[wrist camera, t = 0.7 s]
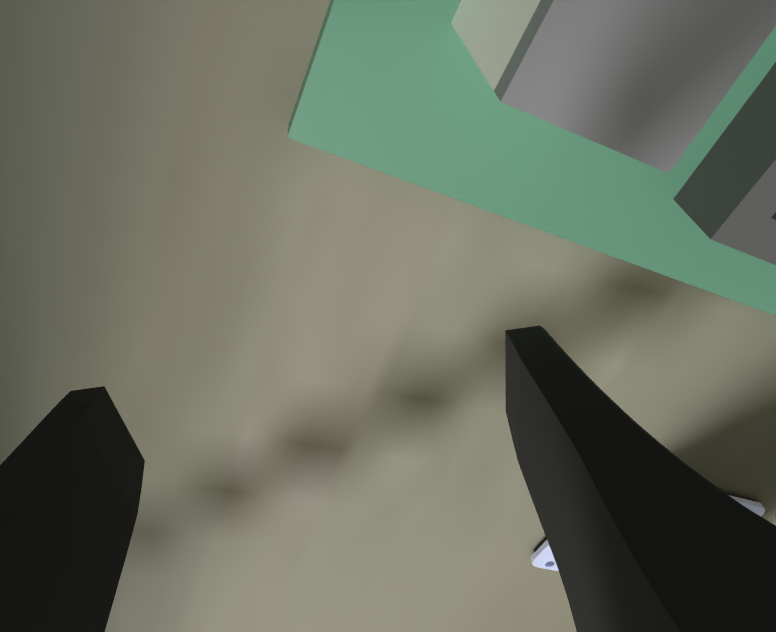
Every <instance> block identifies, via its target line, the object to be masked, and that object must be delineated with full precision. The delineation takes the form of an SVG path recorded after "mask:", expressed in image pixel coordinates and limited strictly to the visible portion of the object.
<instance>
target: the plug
mask: <svg viewBox="0 0 776 632" xmlns="http://www.w3.org/2000/svg"><path fill="white" fill-rule="evenodd" d="M451 24H452V26H453V27H454V29H455V30H456V32H457V34H458V35H459V37H460V38H461V40H462V42H463V43H464V45H465V46H466V48H467V50H468V51H469V53H470V54H471V56H472V57H473V59H474V61H475V62H476V64H477V65H478V67H479V69H480V70H481V72H482V73H483V75H484V77H485V78H486V80H487V81H488V83H489V84H490V86H491V88H492V89H493V91H494V92H495V94H496V96H497V97H498V99H499V100H500V102H502V103H504V104H507V105H509V106H511V107H514V108H516V109H518V110H521V111H523V112H525V113H528V114H530V115H532V116H535V117H537V118H540V119H542V120H544V121H547V122H549V123H551V124H554V125H556V126H558V127H561V128H563V129H565V130H568V131H570V132H572V133H575V134H577V135H579V136H582V137H584V138H587V139H589V140H591V141H594V142H596V143H598V144H601V145H603V146H605V147H608V148H610V149H612V150H615V151H617V152H619V153H622V154H624V155H626V156H629V157H631V158H634V159H636V160H638V161H641V162H643V163H645V164H648V165H650V166H652V167H655V168H657V169H659V170H662V171H664V172H666V173H670V171H671V170H672V169H673V167H674V166H675V164H676V163H677V162H678V160H679V159H680V157H681V156H682V155H683V153H684V152H685V151H686V149H687V148H688V146H689V145H690V144H691V142H692V141H693V140H694V138H695V137H696V135H697V134H698V133H699V131H700V130H701V128H702V127H703V126H704V124H705V123H706V122H707V120H708V119H709V117H710V116H711V115H712V113H713V112H714V111H715V109H716V108H717V106H718V105H719V104H720V102H721V101H722V99H723V98H724V97H725V95H726V94H727V93H728V91H729V90H730V88H731V87H732V86H733V84H734V83H735V82H736V80H737V79H738V77H739V76H740V75H741V73H742V72H743V70H744V69H745V68H746V66H747V65H748V64H749V62H750V61H751V59H752V58H753V57H754V55H755V54H756V53H757V51H758V50H759V48H760V47H761V46H762V44H763V43H764V41H765V40H766V39H767V37H768V36H769V35H770V33H771V32H772V30H773V29H774V28H775V26H776V0H461V2H460V4H459V6H458V9H457V11H456V13H455V15H454V17H453V20H452V22H451Z"/></svg>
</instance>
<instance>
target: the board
mask: <svg viewBox="0 0 776 632" xmlns="http://www.w3.org/2000/svg"><path fill="white" fill-rule="evenodd" d="M460 2H461V0H331V2H330V5H329V8H328V11H327V14H326V17H325V20H324V23H323V26H322V29H321V31H320V34H319V37H318V40H317V43H316V46H315V49H314V52H313V55H312V58H311V61H310V64H309V67H308V70H307V73H306V76H305V79H304V81H303V84H302V87H301V90H300V93H299V96H298V99H297V102H296V105H295V108H294V111H293V114H292V117H291V120H290V123H289V128H288V136H287V138H290V139H293V140H296V141H298V142H301V143H304V144H307V145H309V146H312V147H315V148H318V149H320V150H323V151H326V152H329V153H331V154H334V155H337V156H340V157H342V158H345V159H348V160H350V161H353V162H356V163H359V164H361V165H364V166H367V167H370V168H372V169H375V170H378V171H381V172H383V173H386V174H389V175H392V176H394V177H397V178H400V179H403V180H405V181H408V182H411V183H413V184H416V185H419V186H422V187H424V188H427V189H430V190H433V191H435V192H438V193H441V194H444V195H446V196H449V197H452V198H455V199H457V200H460V201H463V202H466V203H468V204H471V205H474V206H476V207H479V208H482V209H485V210H487V211H490V212H493V213H496V214H498V215H501V216H504V217H507V218H509V219H512V220H515V221H518V222H520V223H523V224H526V225H529V226H531V227H534V228H537V229H540V230H542V231H545V232H548V233H550V234H553V235H556V236H559V237H561V238H564V239H567V240H570V241H572V242H575V243H578V244H581V245H583V246H586V247H589V248H592V249H594V250H597V251H600V252H603V253H605V254H608V255H611V256H613V257H616V258H619V259H622V260H624V261H627V262H630V263H633V264H635V265H638V266H641V267H644V268H646V269H649V270H652V271H655V272H657V273H660V274H663V275H666V276H668V277H671V278H674V279H676V280H679V281H682V282H685V283H687V284H690V285H693V286H696V287H698V288H701V289H704V290H707V291H709V292H712V293H715V294H718V295H720V296H723V297H726V298H729V299H731V300H734V301H737V302H740V303H742V304H745V305H748V306H750V307H753V308H756V309H759V310H761V311H764V312H767V313H770V314H772V315H775V316H776V26H775V28H774V29H773V30H772V32H771V33H770V35H769V36H768V37H767V39H766V40H765V41H764V43H763V44H762V46H761V47H760V48H759V50H758V51H757V53H756V54H755V55H754V57H753V58H752V59H751V61H750V62H749V64H748V65H747V66H746V68H745V69H744V70H743V72H742V73H741V75H740V76H739V77H738V79H737V80H736V82H735V83H734V84H733V86H732V87H731V88H730V90H729V91H728V93H727V94H726V95H725V97H724V98H723V99H722V101H721V102H720V104H719V105H718V106H717V108H716V109H715V111H714V112H713V113H712V115H711V116H710V117H709V119H708V120H707V122H706V123H705V124H704V126H703V127H702V128H701V130H700V131H699V133H698V134H697V135H696V137H695V138H694V140H693V141H692V142H691V144H690V145H689V146H688V148H687V149H686V151H685V152H684V153H683V155H682V156H681V157H680V159H679V160H678V162H677V163H676V164H675V166H674V167H673V169H672V170H671V171H670V173H666V172H664V171H662V170H659V169H657V168H655V167H652V166H650V165H648V164H645V163H643V162H641V161H638V160H636V159H634V158H631V157H629V156H626V155H624V154H622V153H619V152H617V151H615V150H612V149H610V148H608V147H605V146H603V145H601V144H598V143H596V142H594V141H591V140H589V139H587V138H584V137H582V136H579V135H577V134H575V133H572V132H570V131H568V130H565V129H563V128H561V127H558V126H556V125H554V124H551V123H549V122H547V121H544V120H542V119H540V118H537V117H535V116H532V115H530V114H528V113H525V112H523V111H521V110H518V109H516V108H514V107H511V106H509V105H507V104H504V103H502V102H500V100H499V99H498V97H497V96H496V94H495V92H494V91H493V89H492V88H491V86H490V84H489V83H488V81H487V80H486V78H485V77H484V75H483V73H482V72H481V70H480V69H479V67H478V65H477V64H476V62H475V61H474V59H473V57H472V56H471V54H470V53H469V51H468V50H467V48H466V46H465V45H464V43H463V42H462V40H461V38H460V37H459V35H458V34H457V32H456V30H455V29H454V27H453V26H452V24H451V22H452V20H453V17H454V15H455V13H456V11H457V9H458V6H459V4H460Z"/></svg>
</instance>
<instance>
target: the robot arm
mask: <svg viewBox="0 0 776 632" xmlns="http://www.w3.org/2000/svg"><path fill="white" fill-rule="evenodd" d="M505 332H506V414H507V418H508V422H509V426H510V430H511V435H512V439H513V443H514V447H515V451H516V455H517V459H518V462H519V465H520V468H521V470H522V473H523V476H524V479H525V481H526V484H527V487H528V490H529V492H530V495H531V498H532V500H533V503H534V506H535V508H536V511H537V514H538V516H539V519H540V522H541V524H542V527H543V530H544V532H545V535H546V538H547V540H546V541H545V542H544V543H543V544H542V545H541V546H540V547H539V548H538V549H537V550H536V552H535V553H534V554H533V555H532V556H531V560H532V564H533V565H534V566H535V567H539V568H545V569H550V570H556V571H559V573H560V576H561V579H562V582H563V585H564V588H565V591H566V594H567V597H568V600H569V604H570V608H571V611H572V615H573V619H574V623H575V626H576V630H577V632H776V526H775V525H773V524H772V523H770V522H769V521H767V520H765V519H764V518H762V517H761V516H762V515H763V514H764V513H765V509H764V507H763V506H762V504H761V503H759V502H755V501H751V500H747V499H743V498H739V497H734V496H730V495H727V494H726V493H725V492H723V491H722V490H720V489H719V488H717V487H716V486H715V485H713V484H712V483H710V482H709V481H708V480H706V479H705V478H704V477H702V476H701V475H700V474H698V473H697V472H696V471H694V470H693V469H692V468H690V467H689V466H688V465H686V464H685V463H684V462H683V461H681V460H680V459H679V458H678V457H676V456H675V455H674V454H673V453H671V452H670V451H669V450H668V449H666V448H665V447H664V446H663V445H662V444H660V443H659V442H658V441H657V440H656V439H655V438H653V437H652V436H651V435H650V434H649V433H648V432H646V431H645V430H644V429H643V428H642V427H641V426H639V425H638V424H637V423H636V422H635V421H634V420H633V419H632V418H631V417H629V416H628V415H627V414H626V413H625V412H624V411H623V410H622V409H621V408H620V407H619V406H618V405H617V404H616V403H614V402H613V401H612V400H611V399H610V398H609V397H608V396H607V395H606V394H605V393H604V392H603V391H602V390H601V389H600V388H599V387H598V386H597V385H596V384H595V383H594V382H593V381H592V380H591V379H590V378H589V377H588V376H587V375H586V374H585V373H584V372H583V371H582V370H581V369H580V368H579V367H578V366H577V365H576V363H575V362H574V361H573V360H572V359H571V358H570V357H569V356H568V355H567V354H566V353H565V352H564V350H563V349H562V348H561V347H560V346H559V345H558V344H557V343H556V341H555V340H554V339H553V338H552V337H551V336H550V335H549V333H548V332H547V331H546V330H545V329H543V328H542V327H541V326H534V327H527V328H520V329H513V330H505ZM144 462H145V461H144V459H143V457H142V455H141V453H140V451H139V449H138V448H137V446H136V444H135V442H134V440H133V438H132V437H131V435H130V433H129V431H128V429H127V427H126V425H125V424H124V422H123V420H122V418H121V416H120V414H119V413H118V411H117V409H116V407H115V405H114V403H113V402H112V400H111V398H110V396H109V394H108V392H107V390H106V389H105V387H96V388H89V389H82V390H75V391H70V392H69V393H68V394H67V395H66V396H65V397H64V398H63V399H62V400H61V401H60V402H59V403H58V404H57V405H56V406H55V407H54V408H53V409H52V410H51V412H50V413H49V414H48V415H47V416H46V417H45V418H44V419H43V420H42V421H41V422H40V423H39V424H38V425H37V427H36V428H35V429H34V430H33V431H32V432H31V433H30V434H29V435H28V436H27V437H26V438H25V439H24V441H23V442H22V443H21V444H20V445H19V446H18V447H17V448H16V449H15V450H14V451H13V452H12V453H11V454H10V456H9V457H8V458H7V459H6V460H5V461H4V462H3V463H2V464H1V465H0V632H105V628H106V625H107V621H108V618H109V614H110V611H111V607H112V604H113V600H114V597H115V593H116V590H117V586H118V582H119V579H120V575H121V572H122V568H123V565H124V561H125V558H126V554H127V551H128V547H129V543H130V540H131V536H132V532H133V529H134V525H135V521H136V517H137V513H138V507H139V500H140V494H141V487H142V478H143V470H144Z"/></svg>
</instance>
